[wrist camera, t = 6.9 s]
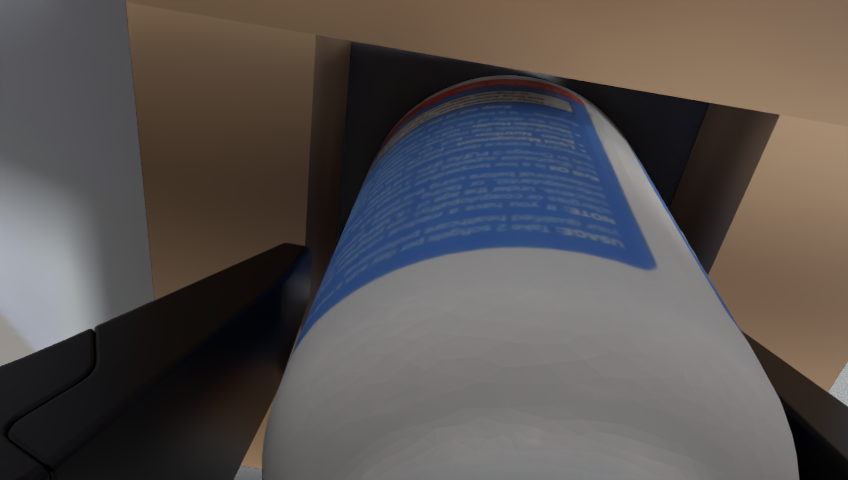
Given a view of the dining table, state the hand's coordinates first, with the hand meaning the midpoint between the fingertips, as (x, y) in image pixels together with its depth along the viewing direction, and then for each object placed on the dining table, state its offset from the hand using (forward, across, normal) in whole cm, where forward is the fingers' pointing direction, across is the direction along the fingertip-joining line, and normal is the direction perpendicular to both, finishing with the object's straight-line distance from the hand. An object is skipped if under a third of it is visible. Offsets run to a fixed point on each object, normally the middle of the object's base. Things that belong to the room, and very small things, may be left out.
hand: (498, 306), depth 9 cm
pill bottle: (+4, 0, 0) cm, 4 cm away
